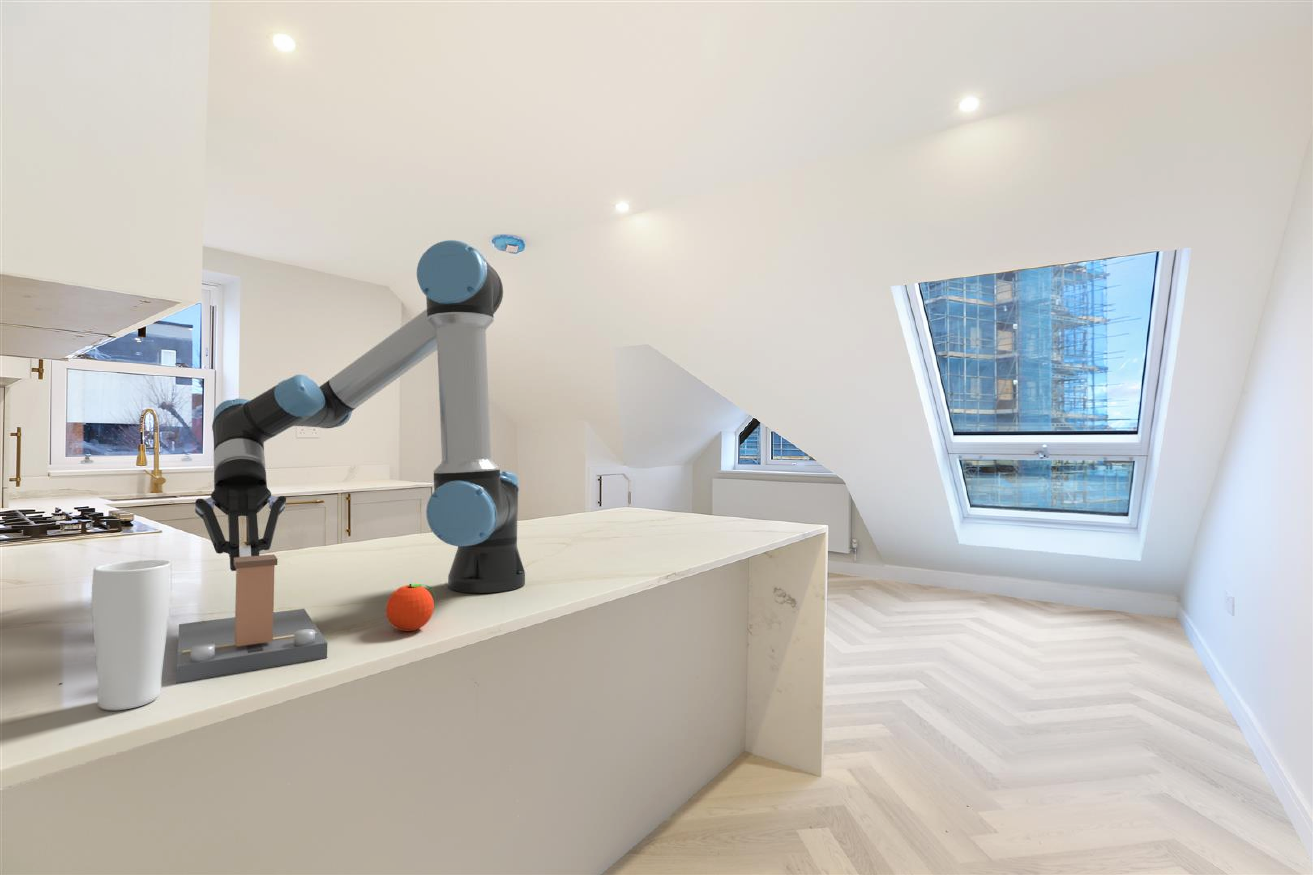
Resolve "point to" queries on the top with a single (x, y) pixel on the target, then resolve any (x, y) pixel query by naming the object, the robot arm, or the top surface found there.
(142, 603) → the white tumbler
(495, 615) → the top surface
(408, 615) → the clementine
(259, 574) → the fader tab
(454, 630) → the top surface
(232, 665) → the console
